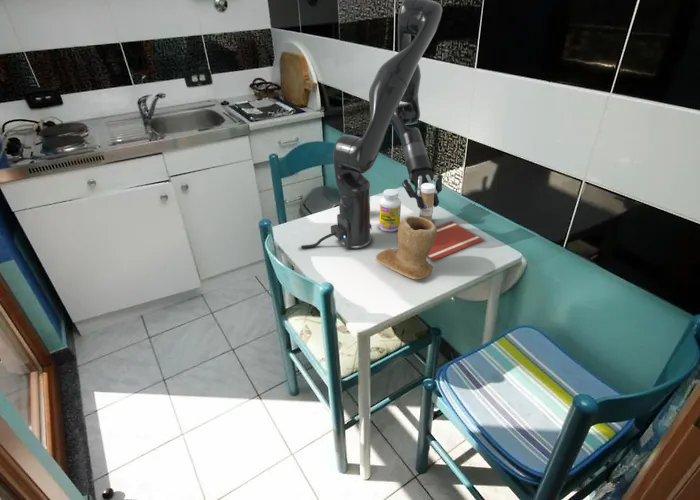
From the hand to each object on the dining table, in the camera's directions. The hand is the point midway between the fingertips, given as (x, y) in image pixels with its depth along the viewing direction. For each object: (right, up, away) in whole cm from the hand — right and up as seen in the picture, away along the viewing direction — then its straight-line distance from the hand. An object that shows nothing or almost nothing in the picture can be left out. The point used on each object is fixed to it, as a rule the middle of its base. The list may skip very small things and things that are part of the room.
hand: (429, 207), depth 135 cm
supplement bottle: (-13, -7, +3) cm, 15 cm away
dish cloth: (+3, -11, -5) cm, 12 cm away
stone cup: (-9, -19, -16) cm, 26 cm away
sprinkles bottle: (0, -5, +5) cm, 7 cm away
